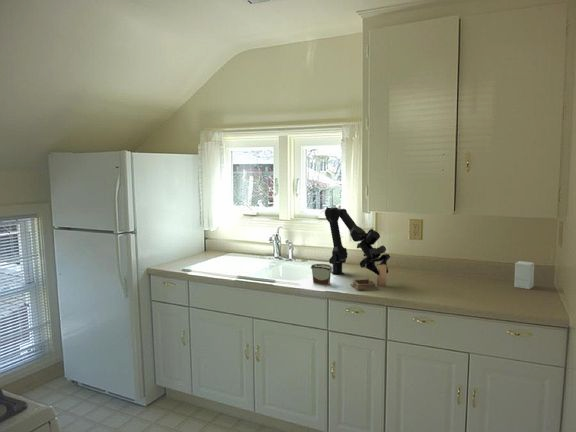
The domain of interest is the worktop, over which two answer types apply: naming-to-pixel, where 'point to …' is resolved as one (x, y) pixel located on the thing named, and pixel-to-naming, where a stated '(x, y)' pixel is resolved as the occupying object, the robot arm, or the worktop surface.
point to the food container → (321, 273)
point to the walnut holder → (364, 285)
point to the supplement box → (524, 274)
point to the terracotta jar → (381, 275)
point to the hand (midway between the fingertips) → (383, 273)
